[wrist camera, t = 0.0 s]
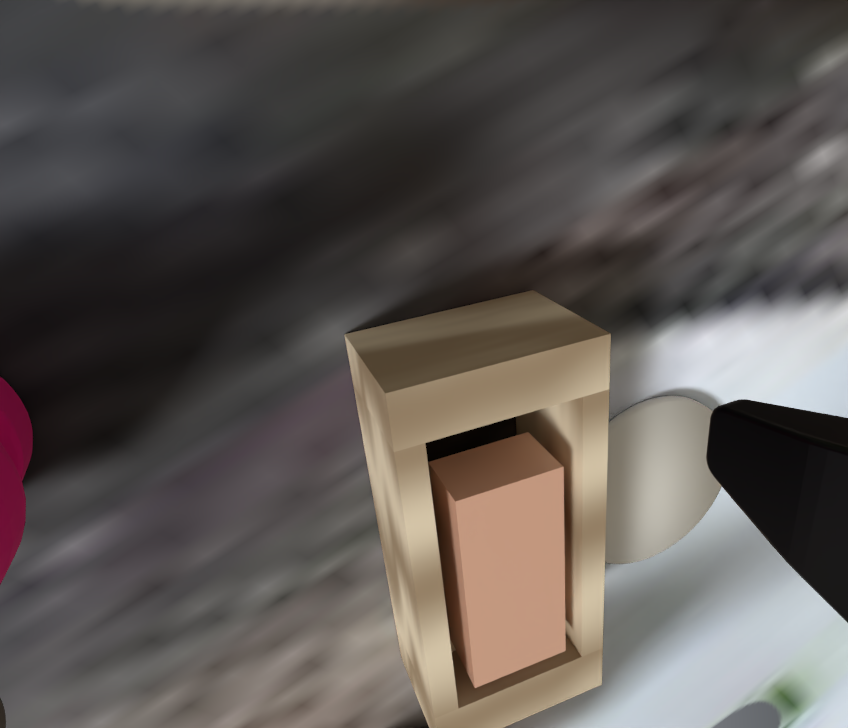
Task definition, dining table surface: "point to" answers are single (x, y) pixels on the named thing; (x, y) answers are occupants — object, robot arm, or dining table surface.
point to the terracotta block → (502, 554)
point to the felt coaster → (656, 477)
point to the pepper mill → (12, 471)
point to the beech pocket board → (465, 410)
